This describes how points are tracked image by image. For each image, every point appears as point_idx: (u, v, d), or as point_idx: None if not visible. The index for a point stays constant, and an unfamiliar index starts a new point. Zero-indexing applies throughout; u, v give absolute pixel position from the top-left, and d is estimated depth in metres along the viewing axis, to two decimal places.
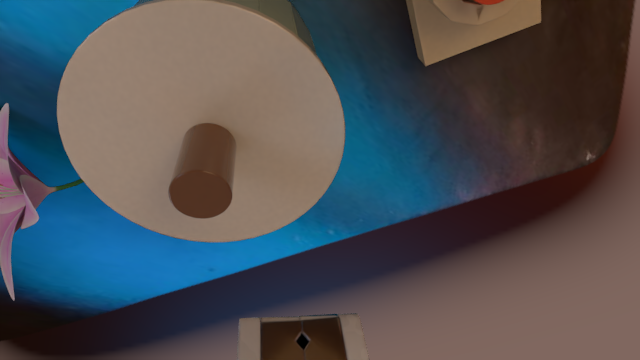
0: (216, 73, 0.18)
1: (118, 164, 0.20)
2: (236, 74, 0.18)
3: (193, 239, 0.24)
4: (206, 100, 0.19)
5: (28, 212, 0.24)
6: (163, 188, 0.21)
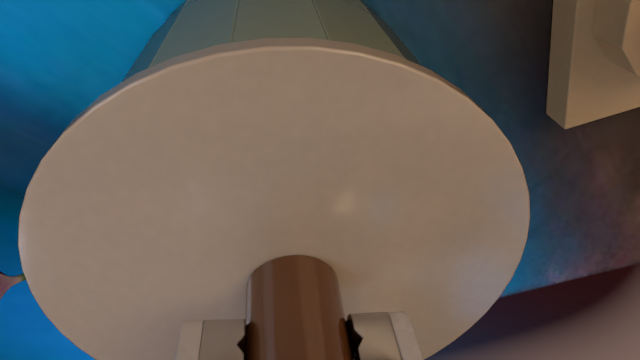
0: (333, 180, 0.09)
1: (128, 312, 0.11)
2: (369, 182, 0.10)
3: None
4: (303, 221, 0.10)
5: None
6: None
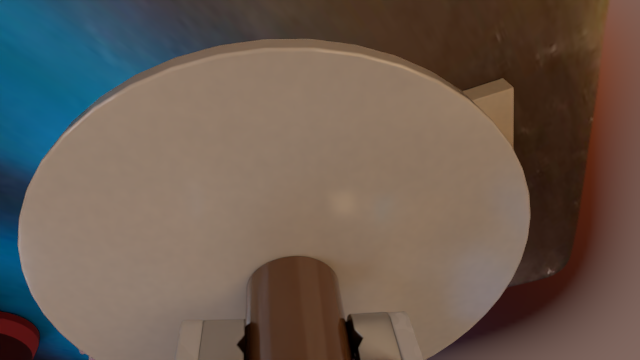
0: (333, 181, 0.09)
1: (128, 313, 0.11)
2: (369, 183, 0.10)
3: None
4: (303, 222, 0.10)
5: None
6: None
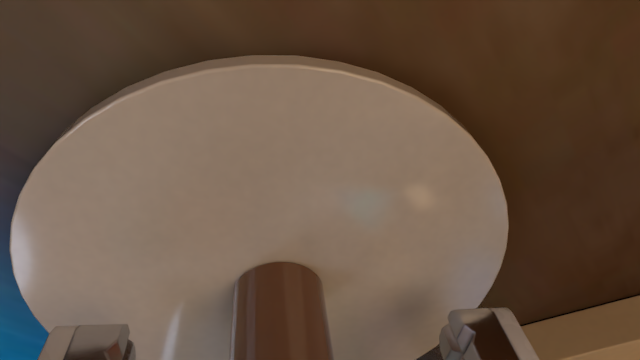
0: (317, 190, 0.10)
1: (117, 315, 0.12)
2: (352, 193, 0.10)
3: None
4: (289, 230, 0.10)
5: None
6: (188, 344, 0.13)
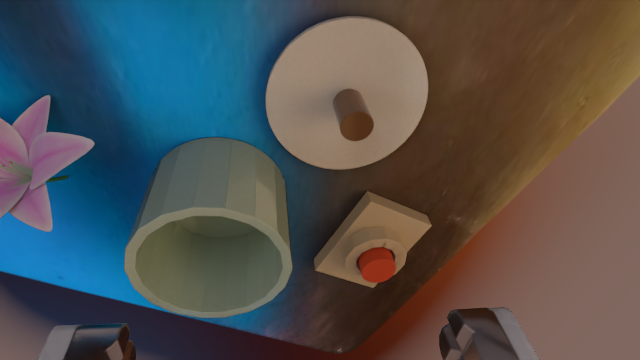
0: (390, 82, 0.33)
1: (305, 69, 0.32)
2: (395, 90, 0.34)
3: (275, 133, 0.35)
4: (373, 86, 0.33)
5: (35, 213, 0.29)
6: (303, 98, 0.33)
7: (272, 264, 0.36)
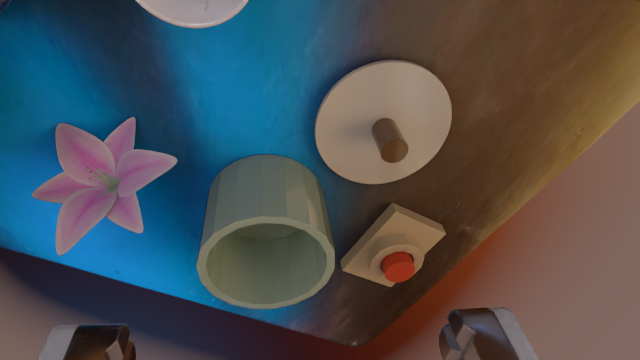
0: (420, 113, 0.39)
1: (351, 101, 0.38)
2: (424, 119, 0.40)
3: (321, 152, 0.41)
4: (406, 116, 0.39)
5: (127, 217, 0.35)
6: (347, 124, 0.39)
7: (313, 264, 0.42)
